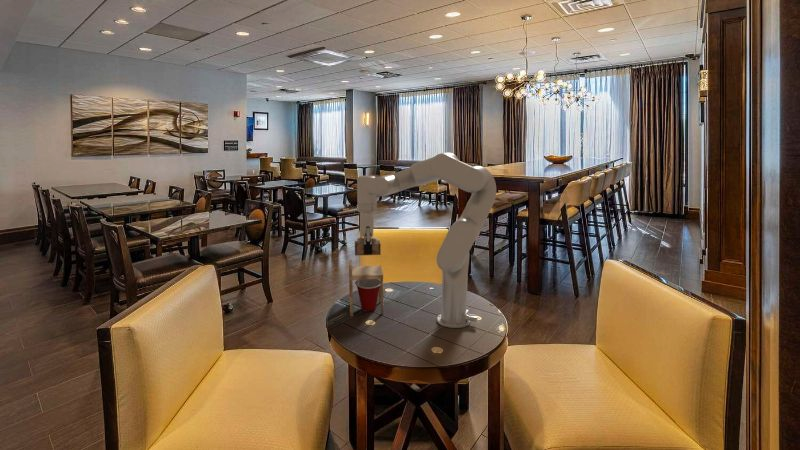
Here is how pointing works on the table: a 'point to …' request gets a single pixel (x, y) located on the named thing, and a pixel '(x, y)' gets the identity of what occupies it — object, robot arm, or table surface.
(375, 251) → the tray
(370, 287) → the plastic cup
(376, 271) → the tan flanged panel
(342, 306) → the table surface
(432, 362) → the table surface
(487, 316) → the table surface
